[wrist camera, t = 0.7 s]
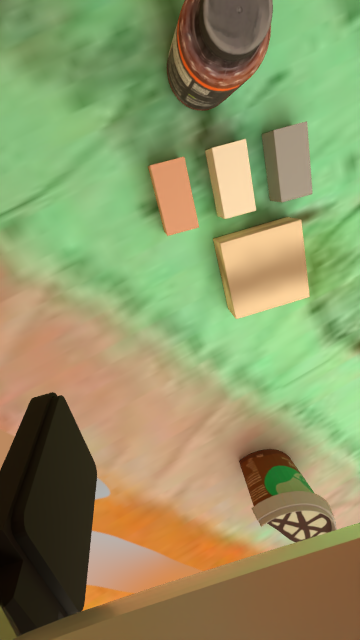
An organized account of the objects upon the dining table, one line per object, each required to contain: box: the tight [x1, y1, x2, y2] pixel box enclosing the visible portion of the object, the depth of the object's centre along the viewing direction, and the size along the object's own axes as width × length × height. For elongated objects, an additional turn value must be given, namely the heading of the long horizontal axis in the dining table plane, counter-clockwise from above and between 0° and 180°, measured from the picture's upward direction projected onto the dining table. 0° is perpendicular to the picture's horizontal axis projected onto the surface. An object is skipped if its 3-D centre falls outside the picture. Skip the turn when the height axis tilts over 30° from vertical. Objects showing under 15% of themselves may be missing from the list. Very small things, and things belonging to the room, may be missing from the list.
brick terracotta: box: [148, 157, 199, 236], centre depth 31 cm, size 6×3×3 cm, turn 13°
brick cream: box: [205, 139, 256, 219], centre depth 31 cm, size 6×3×3 cm, turn 14°
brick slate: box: [262, 121, 312, 202], centre depth 31 cm, size 6×3×3 cm, turn 14°
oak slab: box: [213, 217, 309, 319], centre depth 35 cm, size 8×8×3 cm
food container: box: [239, 449, 337, 542], centre depth 43 cm, size 12×6×10 cm, turn 46°
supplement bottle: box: [167, 0, 273, 110], centre depth 23 cm, size 6×6×11 cm
